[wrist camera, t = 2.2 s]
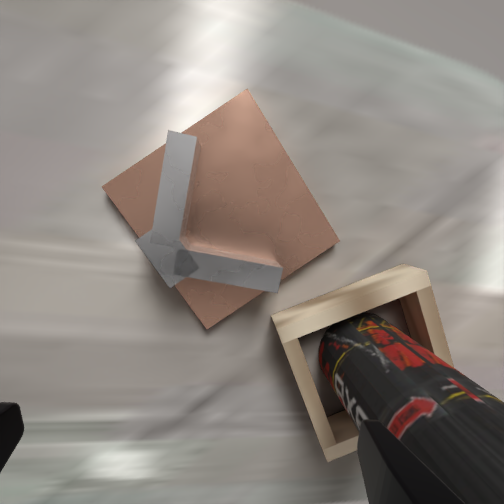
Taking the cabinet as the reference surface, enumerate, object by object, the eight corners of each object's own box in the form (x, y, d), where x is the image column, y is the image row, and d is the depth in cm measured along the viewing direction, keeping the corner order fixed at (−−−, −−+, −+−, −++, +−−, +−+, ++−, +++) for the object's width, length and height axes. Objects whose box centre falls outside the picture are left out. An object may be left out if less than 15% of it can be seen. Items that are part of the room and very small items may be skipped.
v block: (246, 93, 19) (250, 70, 15) (335, 239, 20) (355, 245, 17) (106, 187, 19) (82, 183, 16) (207, 324, 20) (204, 345, 17)
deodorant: (409, 367, 22) (773, 681, 7) (337, 402, 22) (560, 791, 7) (380, 298, 21) (732, 500, 6) (305, 335, 21) (488, 625, 6)
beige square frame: (316, 434, 22) (327, 462, 20) (271, 315, 21) (277, 329, 18) (438, 384, 23) (464, 406, 20) (403, 263, 21) (426, 270, 19)
